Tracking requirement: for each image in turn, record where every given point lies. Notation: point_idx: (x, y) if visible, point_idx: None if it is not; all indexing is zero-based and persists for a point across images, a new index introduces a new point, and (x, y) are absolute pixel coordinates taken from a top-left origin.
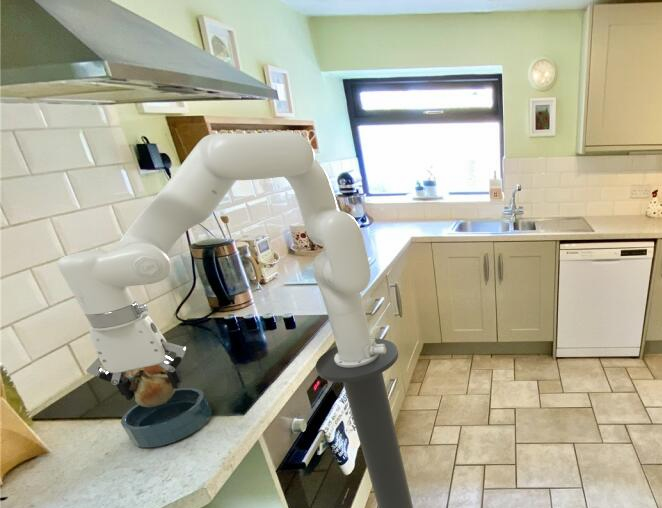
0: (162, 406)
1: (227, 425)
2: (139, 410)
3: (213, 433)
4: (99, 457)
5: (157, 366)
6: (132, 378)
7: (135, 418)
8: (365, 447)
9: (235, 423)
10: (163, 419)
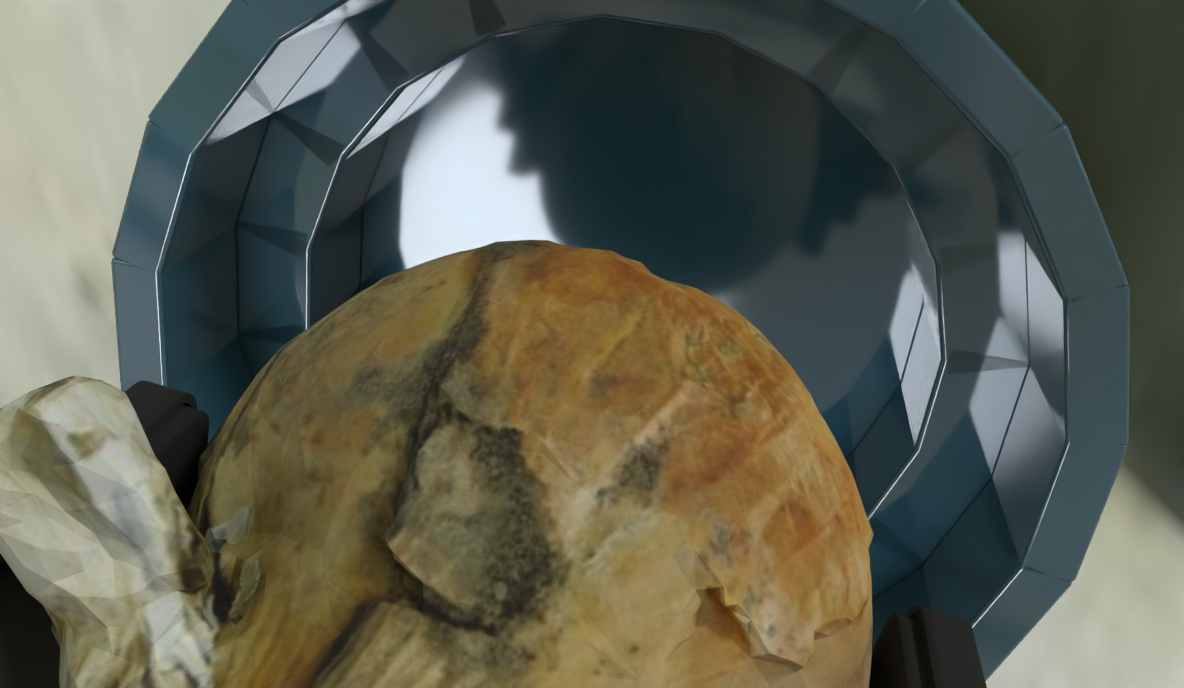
0: (547, 4)
1: (1072, 657)
2: (276, 73)
3: None
4: (41, 304)
5: None
6: None
7: (250, 149)
8: None
9: (1144, 681)
10: (536, 74)
